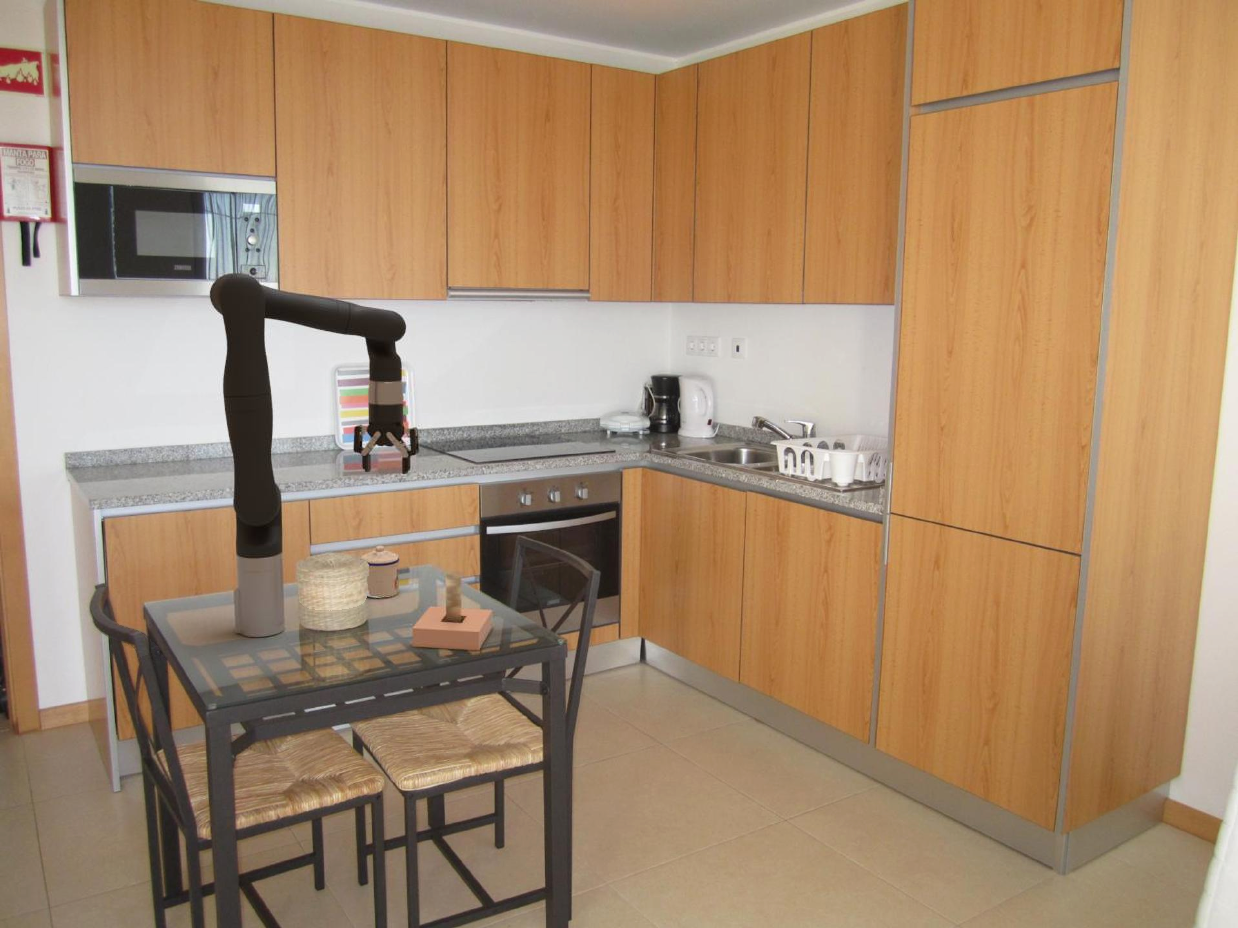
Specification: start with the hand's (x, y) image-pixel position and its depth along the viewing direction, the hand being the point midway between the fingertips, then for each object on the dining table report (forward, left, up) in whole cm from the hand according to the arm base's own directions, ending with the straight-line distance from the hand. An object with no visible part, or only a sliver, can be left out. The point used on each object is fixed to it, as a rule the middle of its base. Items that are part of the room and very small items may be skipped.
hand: (386, 472), depth 228 cm
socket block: (+19, -15, -32) cm, 40 cm away
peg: (+19, -15, -32) cm, 40 cm away
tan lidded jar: (-6, +12, -32) cm, 35 cm away
